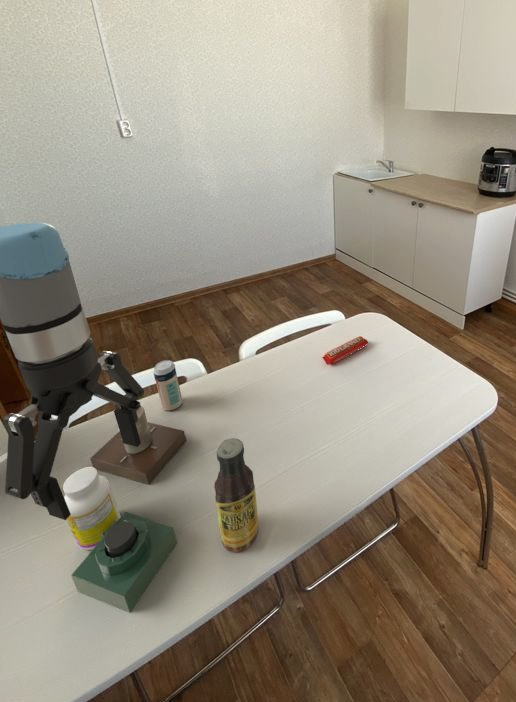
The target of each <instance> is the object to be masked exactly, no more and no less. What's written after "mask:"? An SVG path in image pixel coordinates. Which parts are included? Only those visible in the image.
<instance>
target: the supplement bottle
mask: <svg viewBox="0 0 516 702" xmlns="http://www.w3.org/2000/svg"><path fill="white" fill-rule="evenodd" d="M62 488H63V492H64V495H63V496H64V499H65V501H66V504H67V506H68V509H69V511H70V514H71V515H70V516H69V517H68V518H67V519H66V521H67V524H68V526H69V528H70V531H71V533H72V536H73V538H74V540H75V542H76V545H77V546H78V547H79V549H81V550H85V551H92V550H93V549H94V548H95V547H96V546H97V544H98V543H99V542H100V541H101V539H102V538H103V537H104V536H105V535H106V534H107V532H108V531H109V530H110V529H111V528H112V527H113V526H114V525H115V523H116V522H117V521H118V520H119V519H120V518H121V516H122V515H121V513H120V509H119V507H118V504H117V502H116V498H115V495H114V492H113V490H112V487H111V484H110V481H109V480H108V478H107V477H106V476H104V475H100V474H99V472H98V470H96V469H95V468H94V467H93V466H85V467H82V468H80V469H78V470H76V471H74V472H73V473H72V474H70V475H69V476H68V477H67V479H66V480H65V481H64V483H63V486H62Z"/></svg>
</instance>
